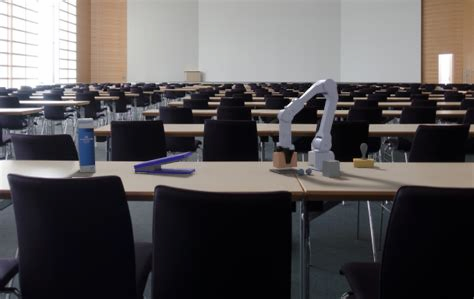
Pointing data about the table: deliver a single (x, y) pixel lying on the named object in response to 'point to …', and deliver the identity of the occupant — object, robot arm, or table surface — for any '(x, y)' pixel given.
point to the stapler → (155, 165)
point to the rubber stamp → (363, 159)
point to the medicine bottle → (311, 157)
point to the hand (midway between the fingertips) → (285, 162)
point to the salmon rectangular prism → (283, 160)
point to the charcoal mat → (284, 170)
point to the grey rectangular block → (331, 168)
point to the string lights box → (86, 145)
